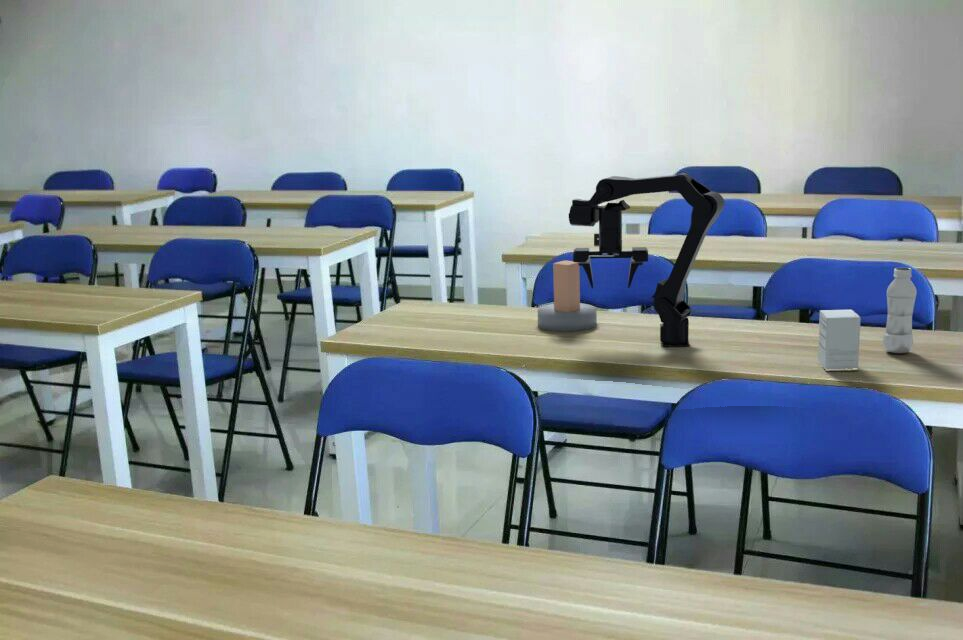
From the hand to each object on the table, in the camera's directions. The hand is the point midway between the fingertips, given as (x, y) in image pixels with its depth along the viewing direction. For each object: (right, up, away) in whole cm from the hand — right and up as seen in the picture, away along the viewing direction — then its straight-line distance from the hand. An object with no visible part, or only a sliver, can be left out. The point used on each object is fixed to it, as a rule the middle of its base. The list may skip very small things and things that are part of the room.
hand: (610, 288), depth 255 cm
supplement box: (+48, -19, -29) cm, 59 cm away
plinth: (-9, -9, +18) cm, 23 cm away
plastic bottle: (+65, -16, -19) cm, 70 cm away
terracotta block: (-10, -5, +17) cm, 21 cm away
